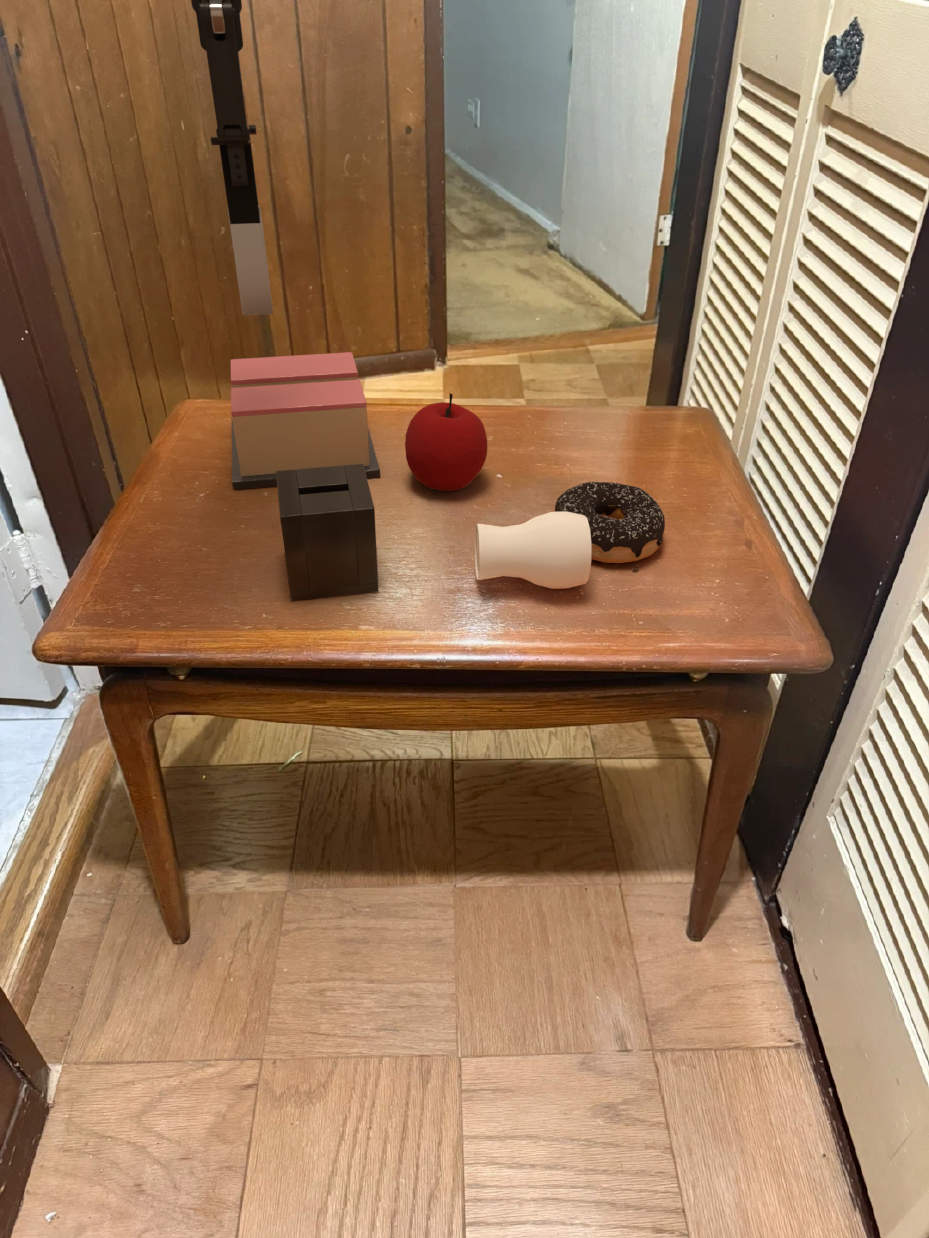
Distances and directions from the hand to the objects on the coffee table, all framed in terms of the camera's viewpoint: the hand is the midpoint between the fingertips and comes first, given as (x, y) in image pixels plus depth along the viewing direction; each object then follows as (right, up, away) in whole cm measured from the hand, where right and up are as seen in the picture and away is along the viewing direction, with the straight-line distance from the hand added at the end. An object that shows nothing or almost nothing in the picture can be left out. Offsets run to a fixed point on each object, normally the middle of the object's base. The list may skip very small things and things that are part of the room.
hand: (245, 218), depth 81 cm
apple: (+18, -22, +15) cm, 33 cm away
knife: (0, -7, +6) cm, 9 cm away
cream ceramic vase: (+27, -34, +1) cm, 43 cm away
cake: (+2, -18, +20) cm, 27 cm away
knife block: (+8, -33, +1) cm, 34 cm away
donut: (+35, -29, +7) cm, 46 cm away
